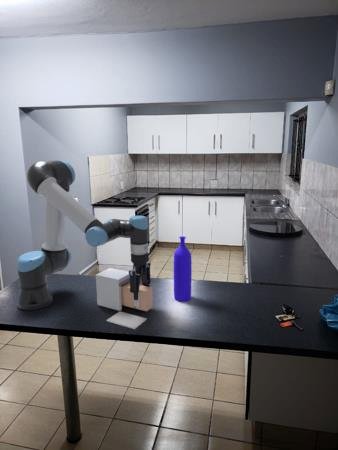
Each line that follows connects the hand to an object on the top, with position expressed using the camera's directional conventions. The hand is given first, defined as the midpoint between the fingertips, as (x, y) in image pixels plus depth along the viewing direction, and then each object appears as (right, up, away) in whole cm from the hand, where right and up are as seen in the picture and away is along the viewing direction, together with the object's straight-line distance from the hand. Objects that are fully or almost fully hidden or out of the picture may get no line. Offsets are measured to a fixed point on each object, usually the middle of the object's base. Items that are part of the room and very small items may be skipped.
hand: (141, 303), depth 148 cm
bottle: (+19, -1, +12) cm, 22 cm away
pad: (-5, -5, -8) cm, 11 cm away
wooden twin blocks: (-3, -1, +2) cm, 4 cm away
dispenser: (-12, -2, +7) cm, 15 cm away
